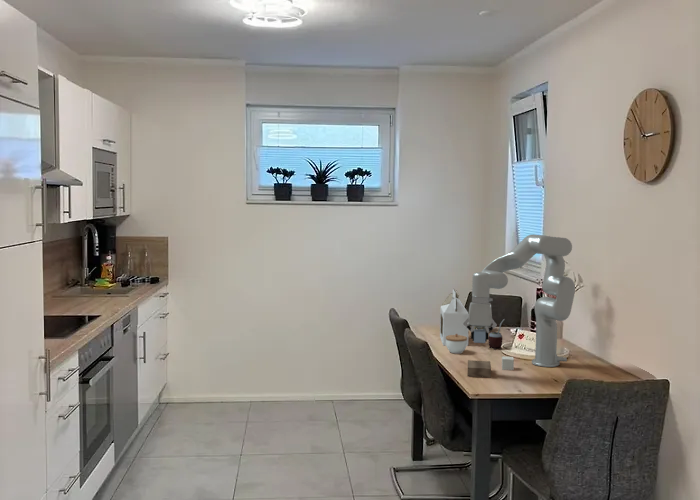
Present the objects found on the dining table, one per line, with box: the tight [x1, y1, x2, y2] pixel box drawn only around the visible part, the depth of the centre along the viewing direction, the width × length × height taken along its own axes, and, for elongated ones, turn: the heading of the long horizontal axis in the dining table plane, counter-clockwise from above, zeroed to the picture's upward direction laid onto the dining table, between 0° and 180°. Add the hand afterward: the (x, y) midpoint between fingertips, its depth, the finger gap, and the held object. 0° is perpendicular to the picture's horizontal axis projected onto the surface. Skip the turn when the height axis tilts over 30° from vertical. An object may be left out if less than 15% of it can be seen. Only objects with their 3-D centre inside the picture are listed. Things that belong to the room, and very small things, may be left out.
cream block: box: [501, 355, 515, 371], centre depth 301 cm, size 5×5×5 cm
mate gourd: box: [487, 318, 506, 351], centre depth 341 cm, size 8×8×15 cm
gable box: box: [439, 288, 470, 347], centre depth 356 cm, size 22×13×28 cm, turn 177°
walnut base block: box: [466, 359, 492, 379], centre depth 293 cm, size 10×13×4 cm
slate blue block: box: [473, 328, 486, 344], centre depth 291 cm, size 5×5×5 cm
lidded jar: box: [445, 334, 467, 354], centre depth 332 cm, size 11×11×9 cm
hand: (479, 340), depth 292 cm, fingers closed on slate blue block, 4 cm apart
